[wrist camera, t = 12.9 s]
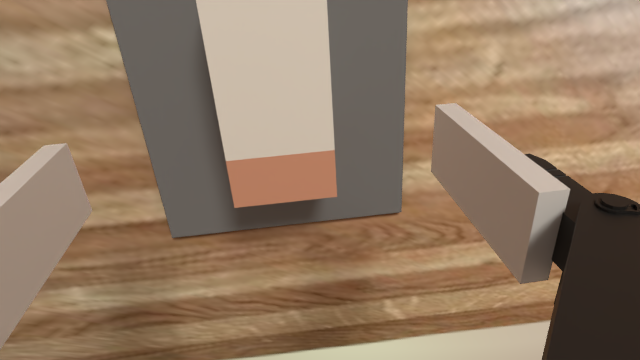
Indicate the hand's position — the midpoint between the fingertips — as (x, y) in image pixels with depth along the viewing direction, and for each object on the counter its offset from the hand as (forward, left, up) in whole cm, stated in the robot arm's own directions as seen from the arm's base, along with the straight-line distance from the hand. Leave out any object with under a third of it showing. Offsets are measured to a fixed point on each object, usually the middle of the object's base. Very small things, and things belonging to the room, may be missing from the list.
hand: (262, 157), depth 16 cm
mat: (0, 0, -13) cm, 13 cm away
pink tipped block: (0, 0, -12) cm, 12 cm away
